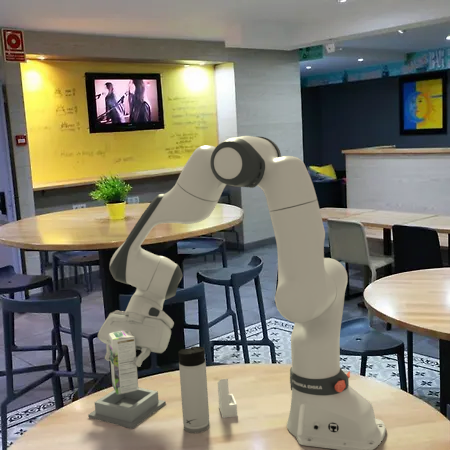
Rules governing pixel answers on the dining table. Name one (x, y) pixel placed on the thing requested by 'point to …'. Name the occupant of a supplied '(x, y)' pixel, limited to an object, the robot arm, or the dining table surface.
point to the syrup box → (123, 362)
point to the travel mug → (194, 389)
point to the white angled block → (226, 400)
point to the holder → (127, 407)
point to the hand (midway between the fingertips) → (121, 362)
